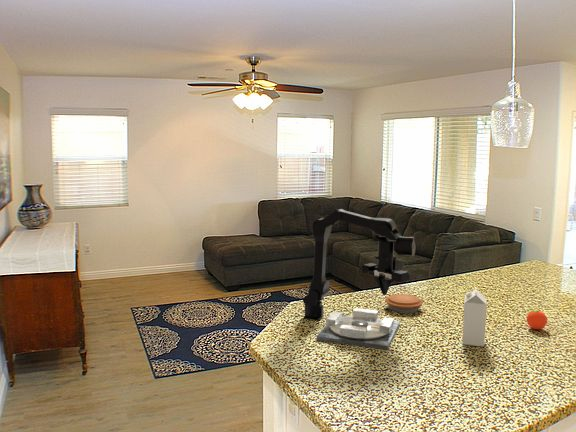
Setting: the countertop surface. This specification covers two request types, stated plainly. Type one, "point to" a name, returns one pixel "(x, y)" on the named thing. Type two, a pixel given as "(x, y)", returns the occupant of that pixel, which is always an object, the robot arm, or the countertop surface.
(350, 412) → the countertop surface
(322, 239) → the robot arm
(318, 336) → the base plate
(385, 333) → the slotted metal disc
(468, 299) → the milk carton
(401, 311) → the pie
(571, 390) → the countertop surface
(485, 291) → the countertop surface
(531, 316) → the tomato
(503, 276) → the countertop surface
